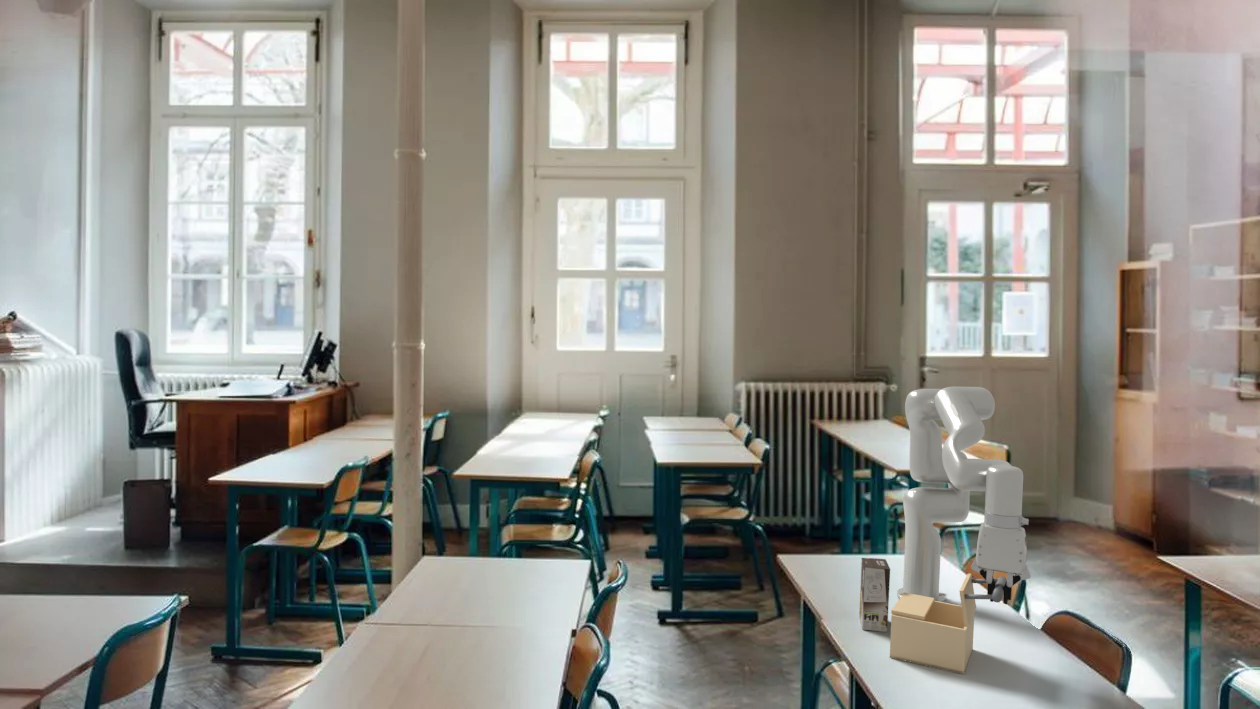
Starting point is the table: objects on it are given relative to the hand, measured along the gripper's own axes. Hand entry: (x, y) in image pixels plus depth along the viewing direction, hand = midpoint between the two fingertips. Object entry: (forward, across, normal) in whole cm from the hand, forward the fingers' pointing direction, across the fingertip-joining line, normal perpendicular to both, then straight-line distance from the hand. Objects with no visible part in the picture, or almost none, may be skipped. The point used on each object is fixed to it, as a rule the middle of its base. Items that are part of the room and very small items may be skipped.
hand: (999, 600), depth 179 cm
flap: (+1, +7, 0) cm, 7 cm away
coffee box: (+16, +30, -11) cm, 35 cm away
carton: (+15, +14, 0) cm, 21 cm away
